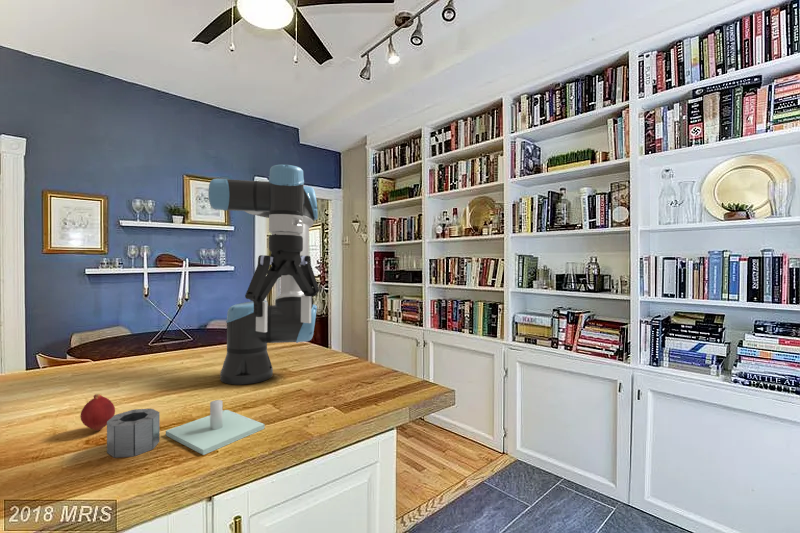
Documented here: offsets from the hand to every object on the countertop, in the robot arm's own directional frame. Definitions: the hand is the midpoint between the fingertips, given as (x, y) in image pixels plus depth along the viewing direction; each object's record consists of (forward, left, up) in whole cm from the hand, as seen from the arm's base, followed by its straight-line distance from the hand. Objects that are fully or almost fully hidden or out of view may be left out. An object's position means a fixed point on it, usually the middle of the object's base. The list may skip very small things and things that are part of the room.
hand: (285, 326), depth 91 cm
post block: (-7, -13, -22) cm, 26 cm away
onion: (-28, -27, -22) cm, 44 cm away
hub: (-14, -26, -22) cm, 36 cm away
